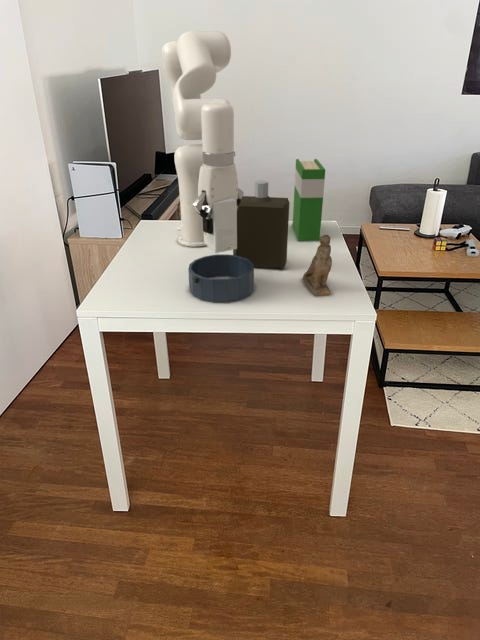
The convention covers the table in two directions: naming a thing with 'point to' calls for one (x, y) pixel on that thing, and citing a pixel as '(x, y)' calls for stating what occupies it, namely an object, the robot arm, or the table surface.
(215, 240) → the small box
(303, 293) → the table surface
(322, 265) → the brown carved statuette
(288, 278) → the table surface
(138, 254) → the table surface
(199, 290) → the blue-grey ring
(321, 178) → the hardback book
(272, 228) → the bottle
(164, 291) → the table surface
